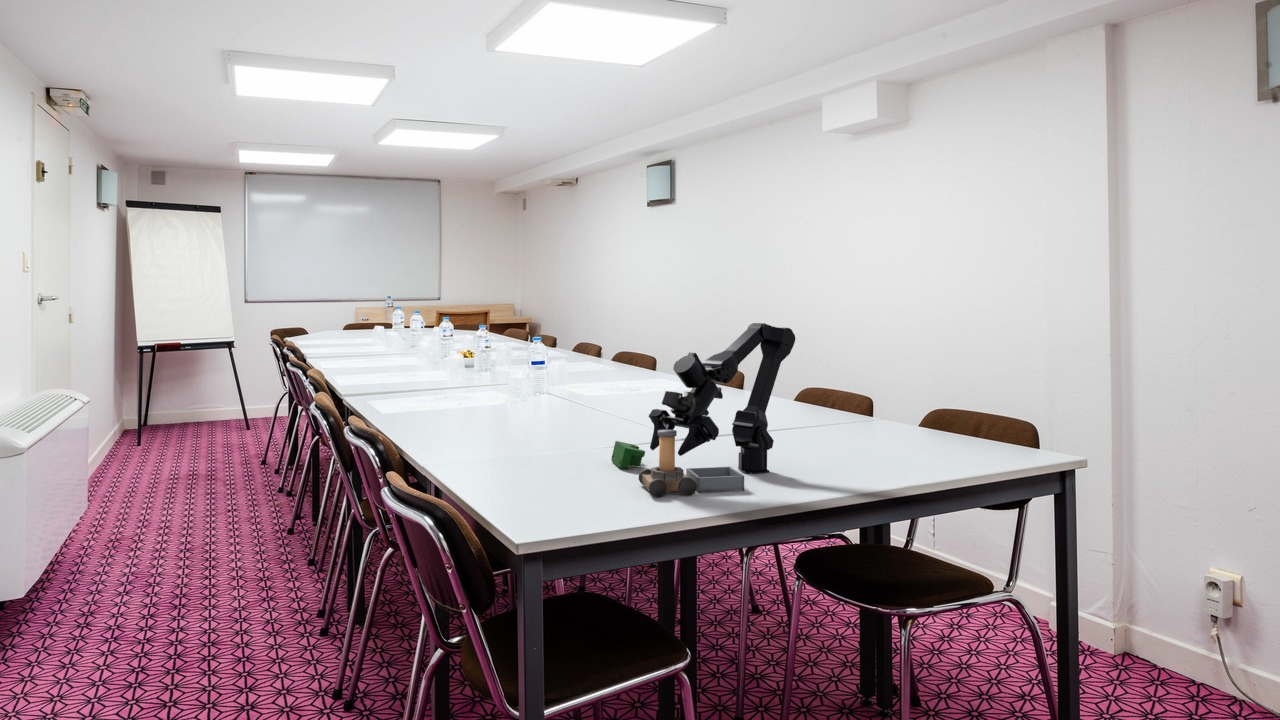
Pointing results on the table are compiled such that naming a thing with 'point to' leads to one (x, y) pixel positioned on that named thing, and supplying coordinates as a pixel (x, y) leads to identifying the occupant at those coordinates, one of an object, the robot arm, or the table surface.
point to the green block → (627, 455)
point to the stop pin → (667, 450)
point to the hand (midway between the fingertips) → (664, 451)
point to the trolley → (667, 481)
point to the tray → (716, 479)
